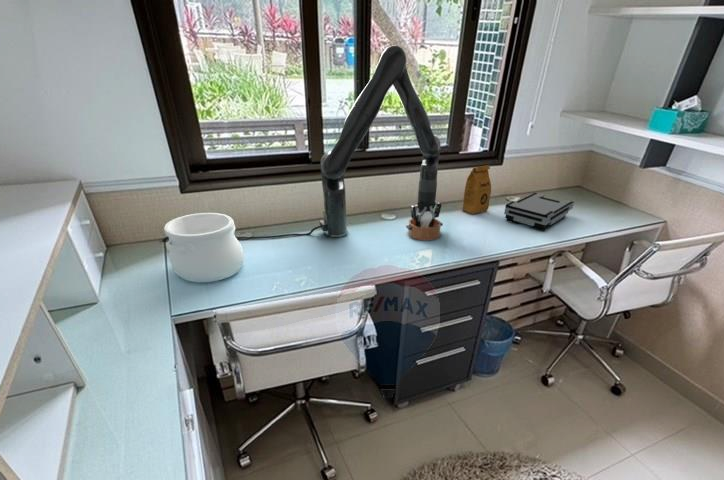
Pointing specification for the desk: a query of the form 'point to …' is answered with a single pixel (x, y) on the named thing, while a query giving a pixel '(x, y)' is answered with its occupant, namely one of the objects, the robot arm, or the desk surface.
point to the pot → (204, 247)
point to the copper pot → (424, 230)
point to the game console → (537, 211)
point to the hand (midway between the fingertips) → (424, 227)
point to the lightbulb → (426, 219)
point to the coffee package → (477, 190)
